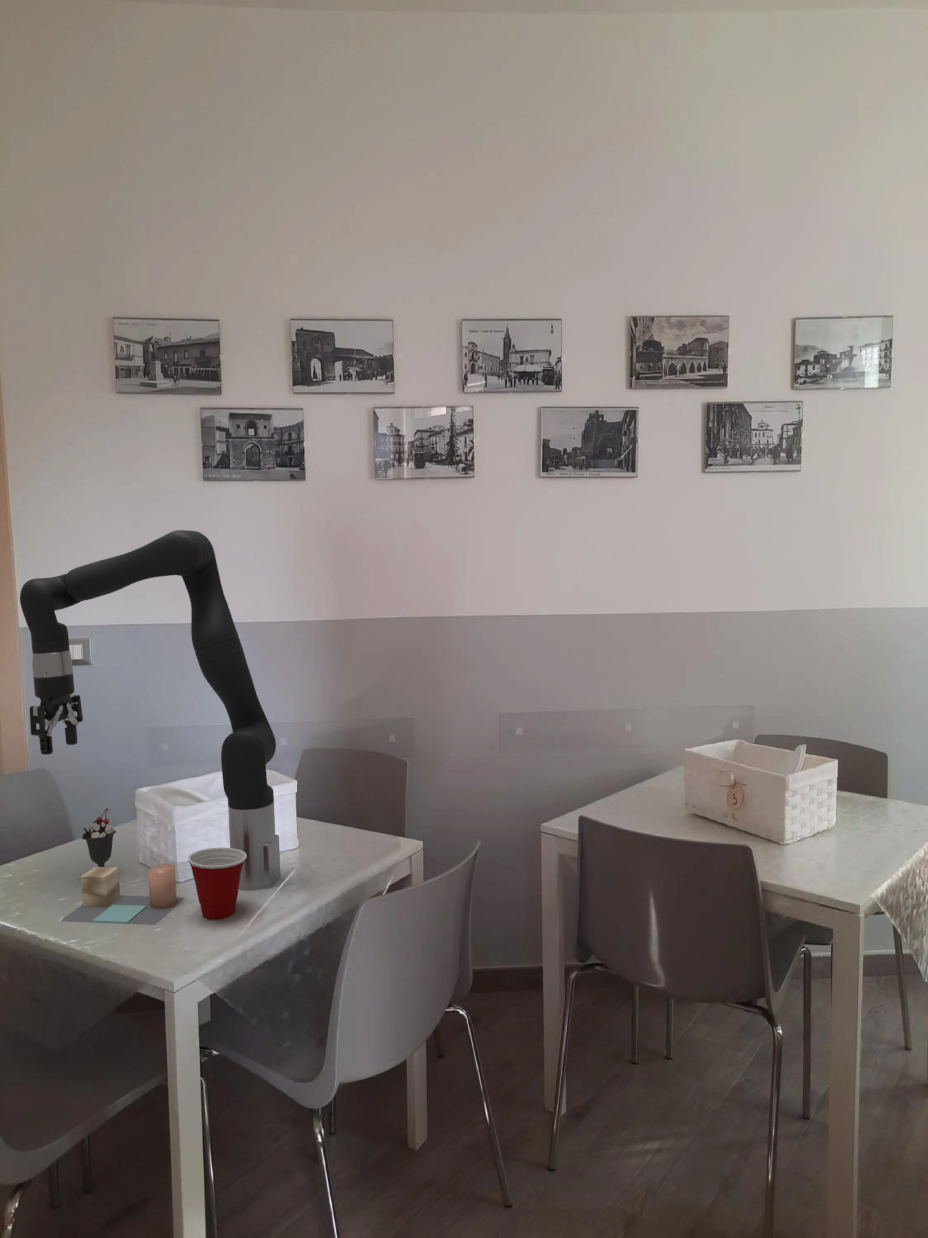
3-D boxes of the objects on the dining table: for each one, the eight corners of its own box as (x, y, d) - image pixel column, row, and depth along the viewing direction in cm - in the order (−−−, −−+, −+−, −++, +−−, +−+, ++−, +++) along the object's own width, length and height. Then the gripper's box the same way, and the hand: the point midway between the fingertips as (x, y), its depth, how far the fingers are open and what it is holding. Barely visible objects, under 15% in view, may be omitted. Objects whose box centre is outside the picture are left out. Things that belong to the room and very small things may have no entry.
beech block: (120, 896, 168) (118, 867, 168) (106, 907, 163) (104, 877, 163) (96, 895, 169) (95, 867, 169) (82, 906, 164) (80, 876, 164)
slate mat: (185, 900, 167) (184, 897, 167) (155, 927, 155) (155, 924, 155) (96, 897, 170) (96, 894, 170) (60, 924, 158) (60, 921, 158)
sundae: (125, 873, 182) (120, 806, 181) (108, 886, 175) (104, 816, 174) (96, 873, 183) (91, 805, 181) (79, 885, 176) (74, 815, 175)
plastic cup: (256, 919, 158) (253, 857, 157) (197, 933, 153) (194, 869, 152) (241, 899, 167) (238, 840, 166) (185, 911, 162) (182, 851, 161)
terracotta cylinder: (181, 898, 167) (179, 864, 166) (169, 909, 162) (167, 874, 161) (157, 897, 167) (155, 863, 167) (145, 908, 162) (143, 873, 162)
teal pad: (146, 907, 163) (146, 906, 163) (127, 923, 156) (127, 922, 156) (112, 906, 164) (112, 904, 164) (92, 922, 157) (92, 920, 157)
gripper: (48, 678, 168) (55, 757, 169) (89, 667, 182) (95, 741, 183) (14, 679, 169) (21, 758, 170) (57, 668, 183) (63, 741, 184)
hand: (59, 749), depth 177 cm, fingers open, 8 cm apart
